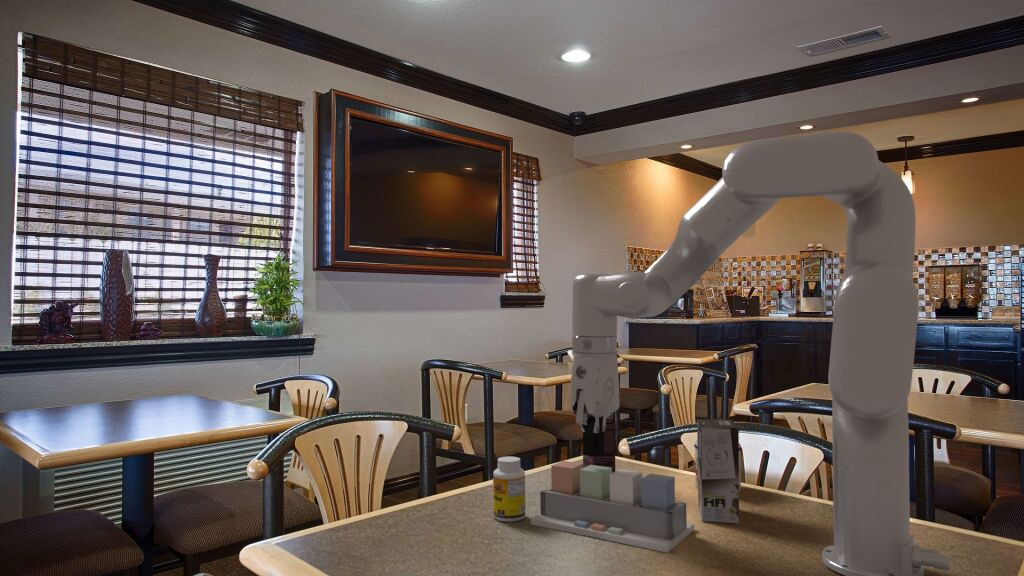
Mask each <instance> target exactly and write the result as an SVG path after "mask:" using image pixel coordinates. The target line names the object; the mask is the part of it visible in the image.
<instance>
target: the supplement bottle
mask: <svg viewBox="0 0 1024 576" xmlns="http://www.w3.org/2000/svg"><path fill="white" fill-rule="evenodd" d="M492 480H493V481H492V485H493V487H492V488H493V489H492V491H493V492H492V493H493V496H492V497H493V499H492V500H493V501H492V503H493V505H492V506H493V517H494V518H495V519H496V520H497V521H499V522H504V523H505V522H506V523H513V522H519V521H521V520H523V519H524V518H525V516H526V472H525V470H524V469H523V468H522V467H521V458H520V457H516V456H502V457H499V458H498V459H497V468H495V470H493V476H492Z"/></svg>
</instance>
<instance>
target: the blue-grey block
mask: <svg viewBox="0 0 1024 576" xmlns="http://www.w3.org/2000/svg"><path fill="white" fill-rule="evenodd" d="M675 479H676V478H675V476H672V475H665V474H657V473H649V474H647V475H645V476H644V477H642V479H641V486H642V507H645V508H651V509H657V510H663V511H669V510H670V509H671V508H673V507H674V506H675V501H676V499H675V497H676V495H675V494H676V489H675V483H676V481H675Z"/></svg>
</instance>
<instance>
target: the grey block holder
mask: <svg viewBox="0 0 1024 576" xmlns="http://www.w3.org/2000/svg"><path fill="white" fill-rule="evenodd" d="M539 493H540V494H539V495H540V496H539V497H540V503H539V505H540V512H539V514H537V515H535V516H533V517H531V518H530V525H532V526H536V527H542V528H546V529H551V530H555V531H561V532H565V533H571V534H574V533H575V534H576V535H579V534H580V536H584V535H585V537H589V536H591V537H590V538H594V537H595V539H599V538H601V539H600V540H603V539H605V540H604V541H608V542H609V541H610V542H613V541H614V543H619V544H623V545H624V544H625V545H628V546H633V547H637V548H642V549H647V550H652V551H657V552H661V553H666V554H668V553H670V551H672V550H673V549H674V548H675V547H676V546H678V545H679V544H680V543H681V542H682V541H683V540H684V539H686V538H687V537H688V536H689V535H690V534H691V533H692V532H693V531H695V523H691V522H687V502H684V501H679V500H678V501H677V500H675V506H674V507H673V508H671V509H670V510H669V511H663V510H657V509H651V508H645V507H642V501H641V502H639V503H637V504H636V505H628V504H622V503H616V502H611V501H610V496H609V497H607V498H606V499H604V500H599V499H593V498H588V497H582V496H580V492H578V493H576V494H574V495H570V494H564V493H559V492H553V491H552V485H550V486H548V487H546V488H545V489H542V490H540V491H539Z"/></svg>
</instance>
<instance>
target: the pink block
mask: <svg viewBox="0 0 1024 576" xmlns="http://www.w3.org/2000/svg"><path fill="white" fill-rule="evenodd" d="M550 467H551V473H550V474H551V486H552V491H553V492H559V493H564V494H570V495H574V494H576V493H578V492H580V469H582V468H583V462H581V463H580V462H574V461H567V460H561V461H558V462H556V463H555V464H552V465H551V466H550Z"/></svg>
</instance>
